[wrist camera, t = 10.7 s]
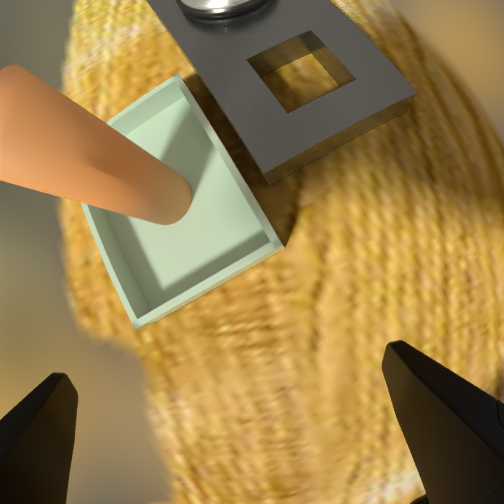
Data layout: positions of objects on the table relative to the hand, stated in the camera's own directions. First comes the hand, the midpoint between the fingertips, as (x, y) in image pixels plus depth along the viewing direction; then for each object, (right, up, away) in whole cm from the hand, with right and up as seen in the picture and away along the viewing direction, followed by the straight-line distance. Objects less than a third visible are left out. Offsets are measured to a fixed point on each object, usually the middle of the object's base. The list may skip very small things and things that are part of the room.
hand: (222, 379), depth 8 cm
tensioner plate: (+2, +17, +11) cm, 20 cm away
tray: (-4, +6, +11) cm, 14 cm away
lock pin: (-4, +6, +11) cm, 13 cm away
